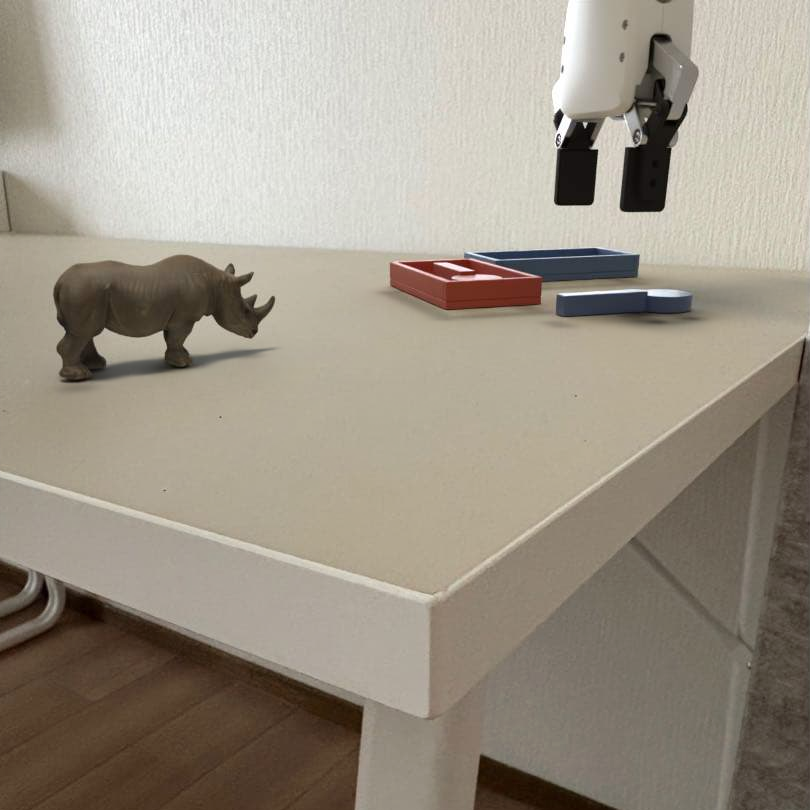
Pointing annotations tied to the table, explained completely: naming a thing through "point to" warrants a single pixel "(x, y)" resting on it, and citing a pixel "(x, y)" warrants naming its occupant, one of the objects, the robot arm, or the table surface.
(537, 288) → the red tray
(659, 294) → the blue spoon
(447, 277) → the red spoon
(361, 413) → the table surface
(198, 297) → the rhino figurine
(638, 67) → the robot arm
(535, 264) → the blue tray
